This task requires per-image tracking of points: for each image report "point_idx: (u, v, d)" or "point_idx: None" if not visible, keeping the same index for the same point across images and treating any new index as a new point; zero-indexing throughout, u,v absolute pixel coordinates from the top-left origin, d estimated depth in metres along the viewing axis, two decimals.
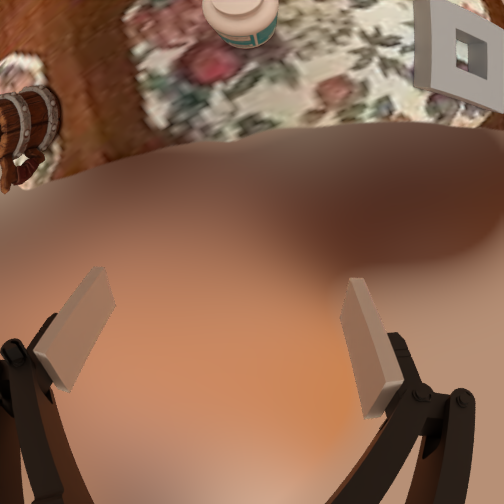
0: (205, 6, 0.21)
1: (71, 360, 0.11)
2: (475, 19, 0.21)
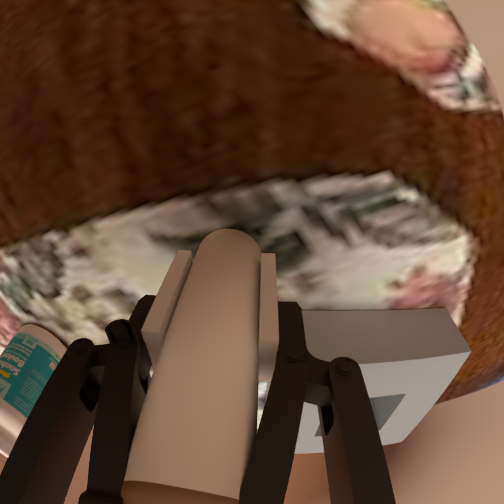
0: None
1: None
2: (395, 370, 0.17)
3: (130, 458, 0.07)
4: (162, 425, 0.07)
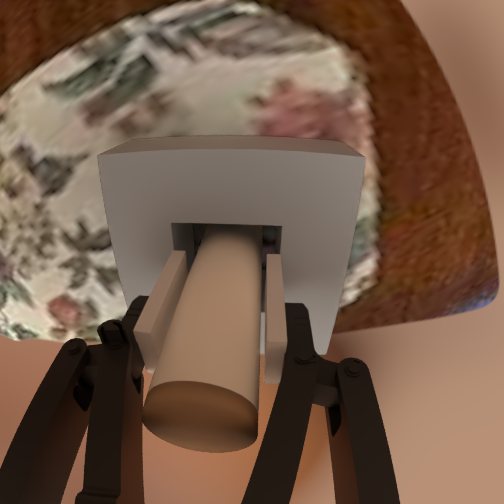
0: None
1: (164, 340, 0.13)
2: (242, 168, 0.14)
3: (157, 371, 0.10)
4: (185, 340, 0.10)
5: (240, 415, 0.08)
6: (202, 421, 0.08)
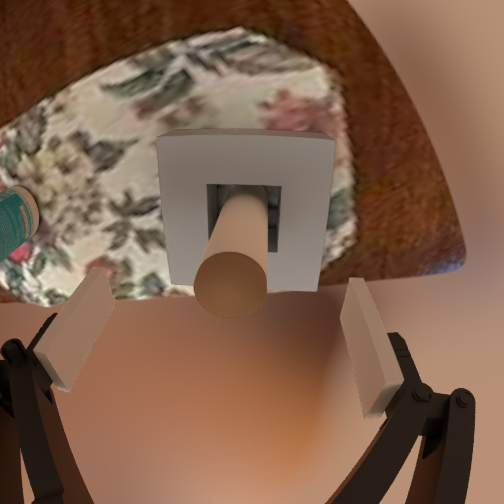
0: None
1: (71, 360, 0.11)
2: (255, 147, 0.22)
3: (205, 255, 0.17)
4: (223, 237, 0.18)
5: (257, 270, 0.16)
6: (233, 278, 0.16)
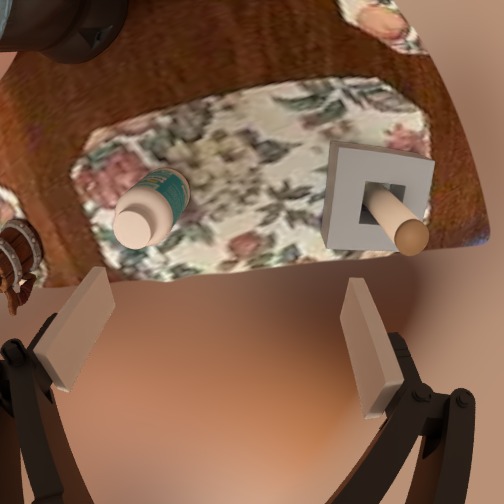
0: None
1: (71, 360, 0.11)
2: (395, 162, 0.34)
3: (397, 221, 0.29)
4: (402, 212, 0.30)
5: None
6: (416, 232, 0.28)
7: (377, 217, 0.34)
